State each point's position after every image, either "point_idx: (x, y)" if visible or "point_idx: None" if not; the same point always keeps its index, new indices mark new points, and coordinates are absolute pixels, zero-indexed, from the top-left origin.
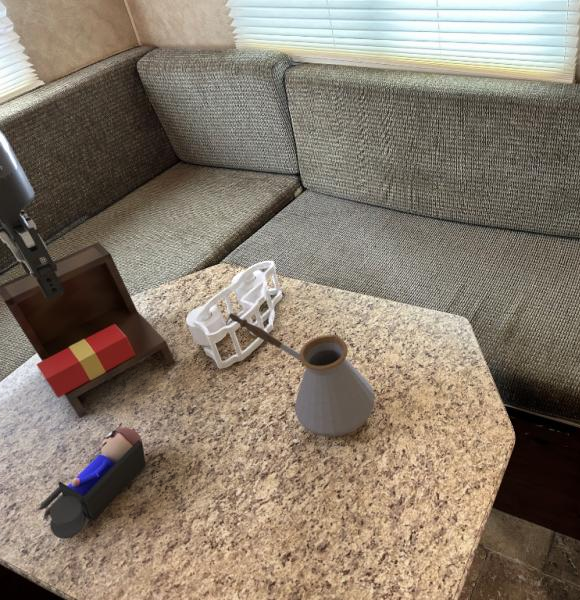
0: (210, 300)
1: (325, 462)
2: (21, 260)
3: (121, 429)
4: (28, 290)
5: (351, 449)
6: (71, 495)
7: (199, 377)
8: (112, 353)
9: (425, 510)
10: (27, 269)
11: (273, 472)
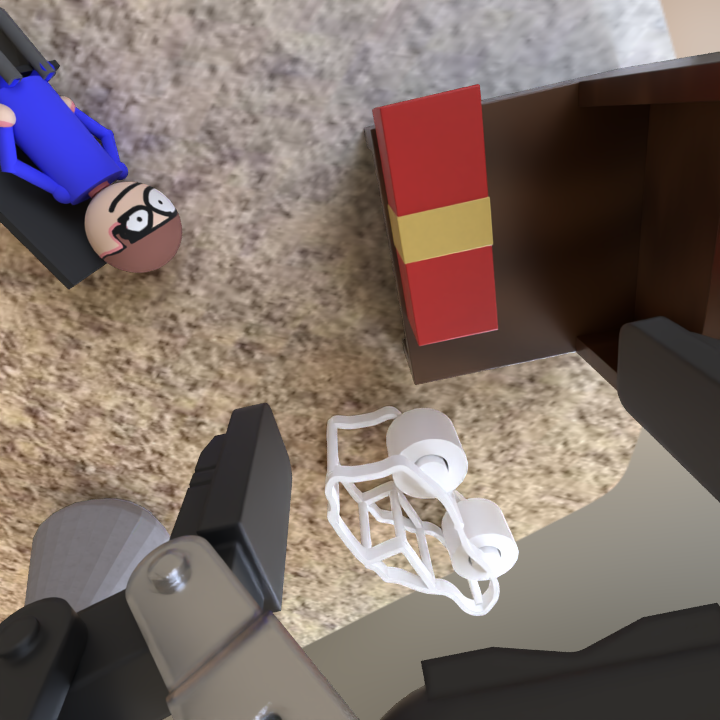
0: (446, 505)
1: (27, 489)
2: (174, 689)
3: (137, 252)
4: None
5: (40, 522)
6: None
7: (331, 381)
8: (406, 291)
9: None
10: (636, 344)
11: (34, 425)
